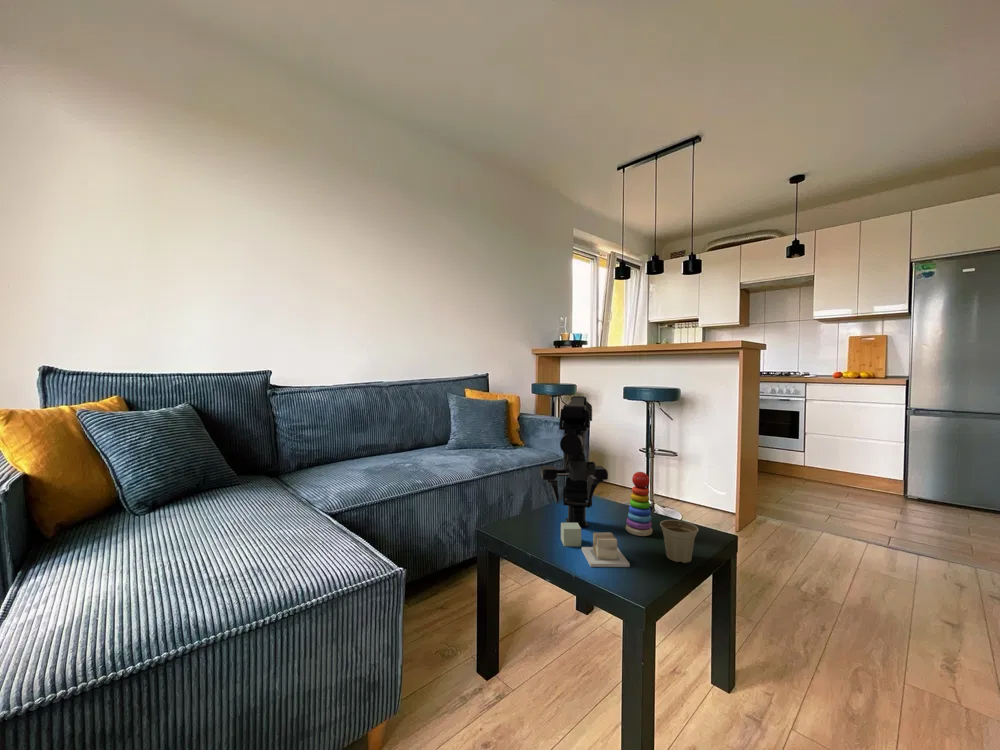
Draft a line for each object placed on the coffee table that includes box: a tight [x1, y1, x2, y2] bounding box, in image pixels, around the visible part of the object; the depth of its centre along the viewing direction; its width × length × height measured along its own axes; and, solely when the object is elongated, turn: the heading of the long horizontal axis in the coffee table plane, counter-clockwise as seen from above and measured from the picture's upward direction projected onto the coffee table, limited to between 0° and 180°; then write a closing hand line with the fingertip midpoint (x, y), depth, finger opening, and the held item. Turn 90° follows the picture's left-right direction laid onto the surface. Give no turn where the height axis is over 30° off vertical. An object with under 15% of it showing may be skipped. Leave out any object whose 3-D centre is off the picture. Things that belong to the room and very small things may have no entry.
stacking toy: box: [625, 471, 654, 537], centre depth 127 cm, size 8×8×19 cm
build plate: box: [581, 546, 631, 568], centre depth 108 cm, size 10×10×1 cm
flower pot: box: [659, 519, 699, 564], centre depth 109 cm, size 9×9×9 cm
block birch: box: [592, 532, 618, 559], centre depth 108 cm, size 5×5×5 cm
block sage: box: [560, 522, 582, 547], centre depth 118 cm, size 5×5×5 cm
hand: (573, 502), depth 118 cm, fingers open, 9 cm apart
